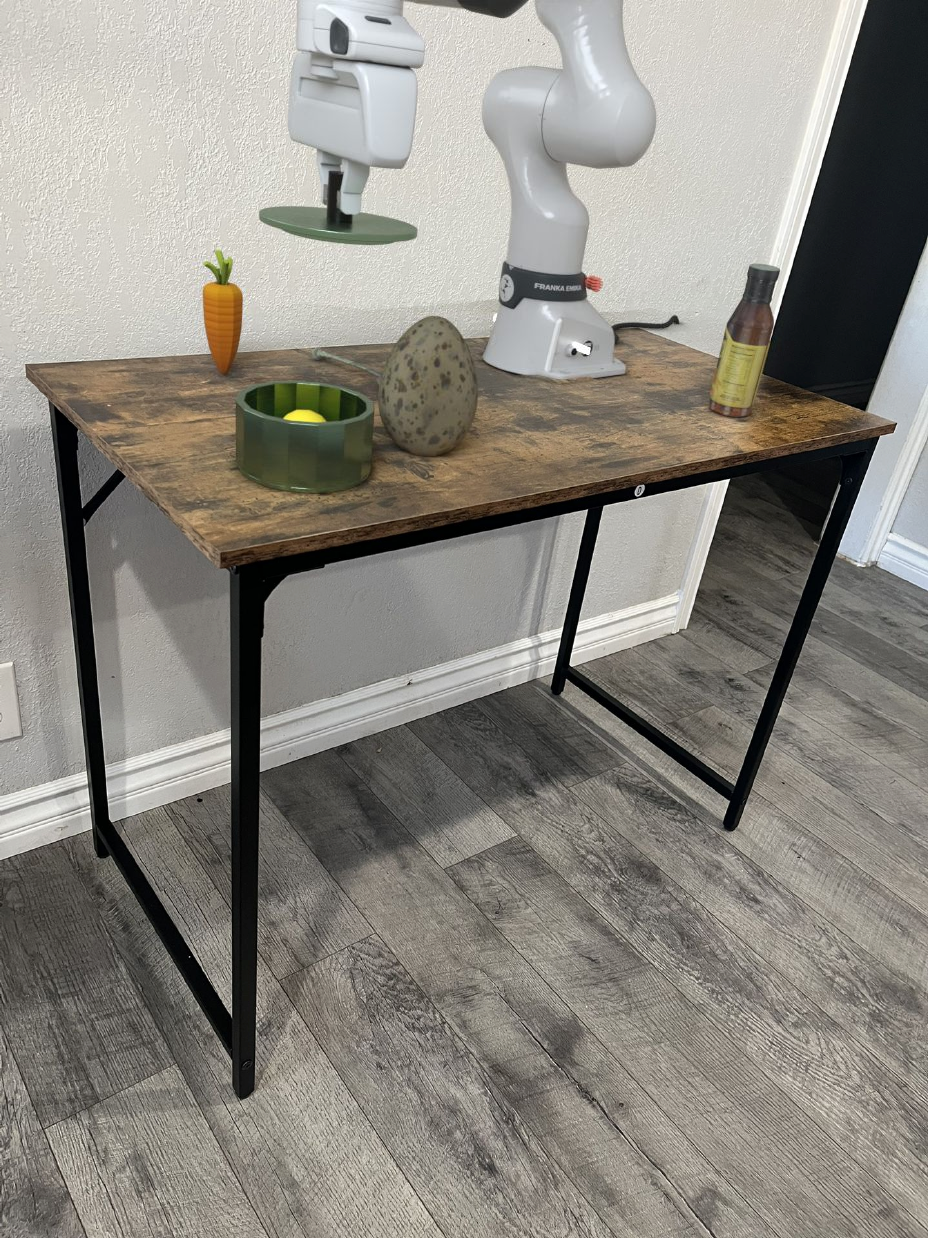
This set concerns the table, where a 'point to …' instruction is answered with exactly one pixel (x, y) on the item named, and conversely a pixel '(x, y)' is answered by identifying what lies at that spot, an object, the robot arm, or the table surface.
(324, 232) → the pot lid
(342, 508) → the table surface
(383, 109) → the robot arm
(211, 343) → the carrot
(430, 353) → the decorative egg
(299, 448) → the pot
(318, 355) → the soupspoon
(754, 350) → the sauce bottle
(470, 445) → the table surface
